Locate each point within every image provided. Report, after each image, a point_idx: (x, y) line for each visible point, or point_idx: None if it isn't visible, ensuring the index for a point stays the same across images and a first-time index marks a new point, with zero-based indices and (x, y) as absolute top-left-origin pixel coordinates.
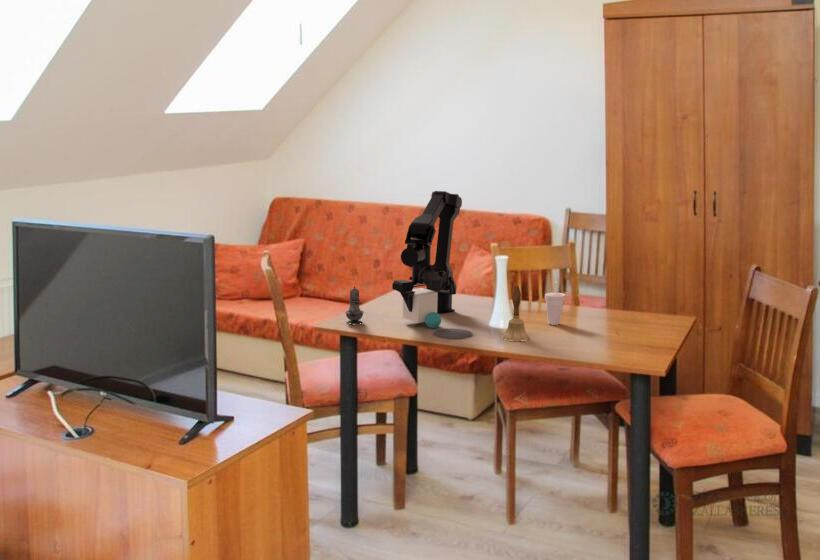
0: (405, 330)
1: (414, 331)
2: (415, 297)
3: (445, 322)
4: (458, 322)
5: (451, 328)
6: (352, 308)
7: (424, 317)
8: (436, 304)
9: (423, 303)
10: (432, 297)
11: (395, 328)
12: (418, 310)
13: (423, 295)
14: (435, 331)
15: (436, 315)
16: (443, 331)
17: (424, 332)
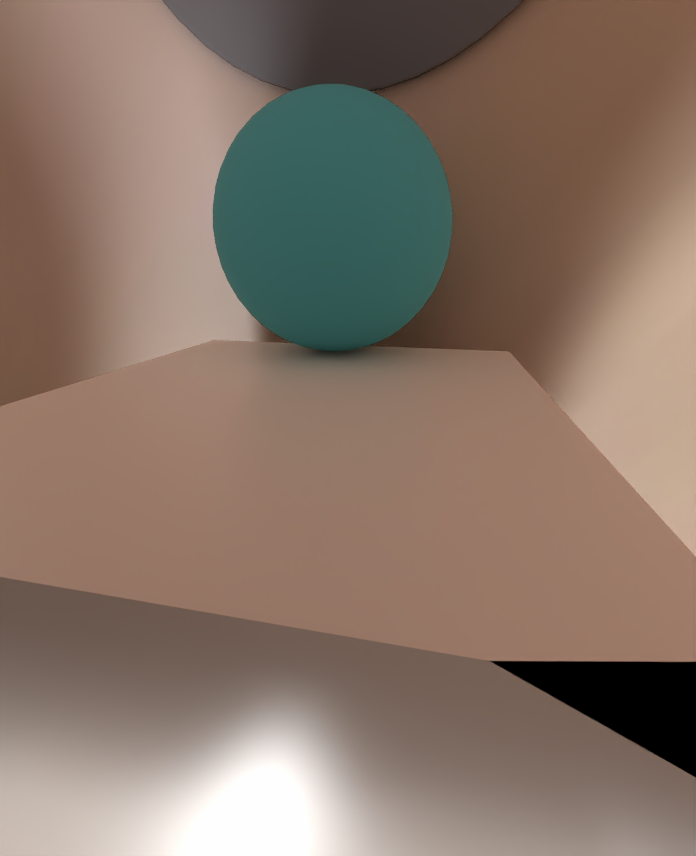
0: (690, 348)
1: (653, 239)
2: (652, 717)
3: (128, 348)
4: (23, 271)
5: (206, 39)
6: None
7: (395, 356)
8: (82, 388)
9: (402, 435)
10: (33, 459)
11: (690, 481)
12: (541, 396)
13: (385, 595)
14: (476, 14)
15: (315, 106)
16: None
17: (601, 106)
